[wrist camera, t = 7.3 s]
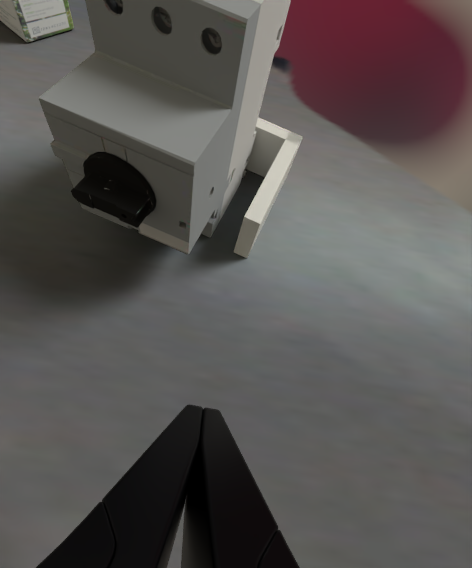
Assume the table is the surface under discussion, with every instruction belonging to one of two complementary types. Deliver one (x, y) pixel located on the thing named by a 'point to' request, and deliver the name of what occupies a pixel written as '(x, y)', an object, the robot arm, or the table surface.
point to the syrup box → (36, 17)
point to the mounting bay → (266, 177)
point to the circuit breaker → (165, 111)
